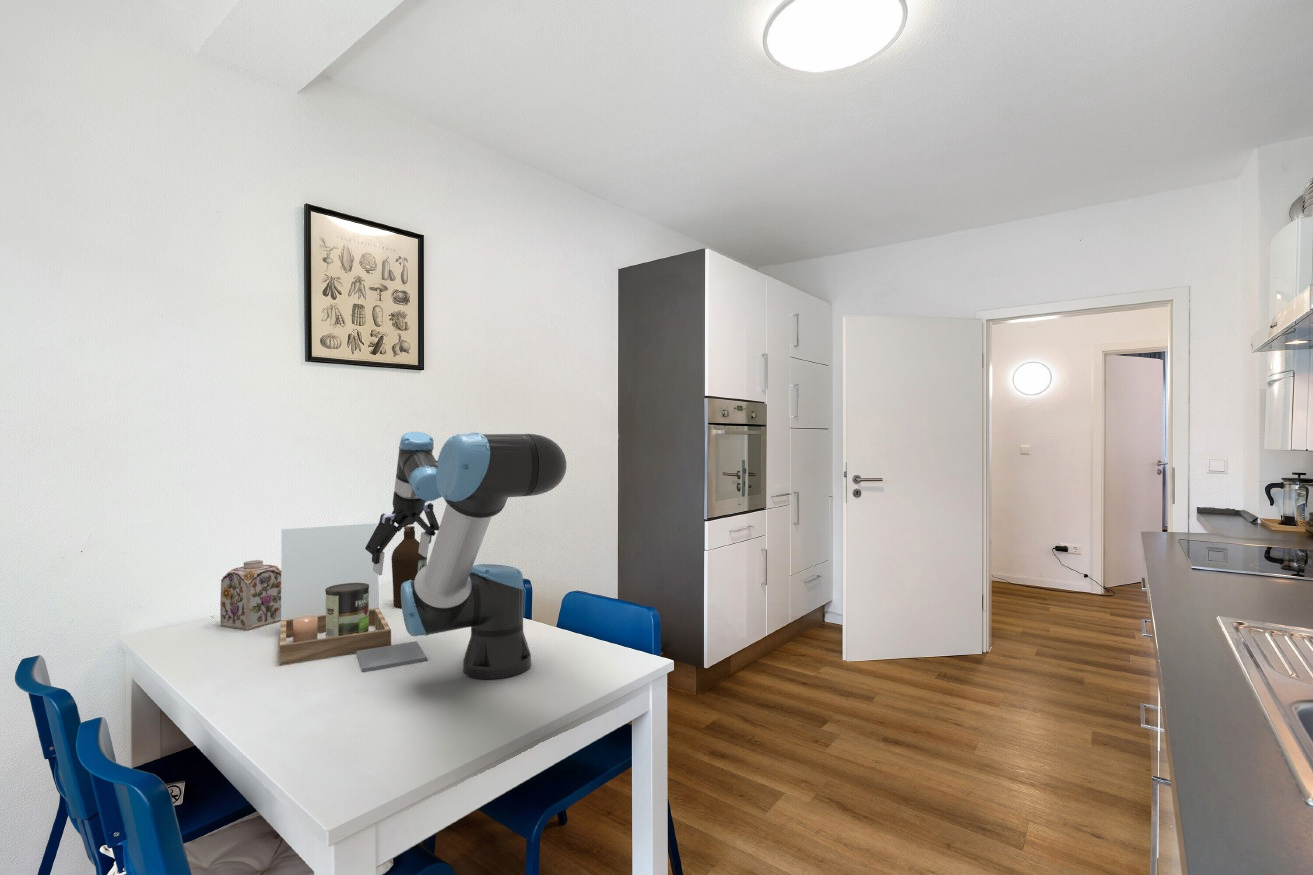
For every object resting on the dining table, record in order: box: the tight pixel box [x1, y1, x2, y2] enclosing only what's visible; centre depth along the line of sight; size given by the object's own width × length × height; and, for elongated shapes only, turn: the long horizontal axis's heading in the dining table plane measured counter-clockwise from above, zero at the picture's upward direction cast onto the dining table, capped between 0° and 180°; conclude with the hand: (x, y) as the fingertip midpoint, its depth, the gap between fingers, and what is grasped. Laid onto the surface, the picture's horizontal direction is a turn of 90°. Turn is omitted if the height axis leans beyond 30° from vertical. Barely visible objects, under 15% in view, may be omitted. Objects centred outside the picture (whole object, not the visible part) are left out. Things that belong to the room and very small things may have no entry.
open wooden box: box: [279, 607, 392, 666], centre depth 159 cm, size 24×24×4 cm
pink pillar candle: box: [292, 616, 319, 643], centre depth 160 cm, size 6×6×6 cm
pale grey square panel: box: [280, 523, 380, 620], centre depth 173 cm, size 24×24×1 cm
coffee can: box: [325, 583, 370, 638], centre depth 161 cm, size 10×10×14 cm
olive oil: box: [390, 525, 428, 609], centre depth 197 cm, size 11×11×25 cm
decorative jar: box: [219, 559, 281, 631], centre depth 177 cm, size 12×12×18 cm
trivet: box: [355, 640, 428, 673], centre depth 148 cm, size 14×14×1 cm
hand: (400, 563), depth 160 cm, fingers open, 13 cm apart
